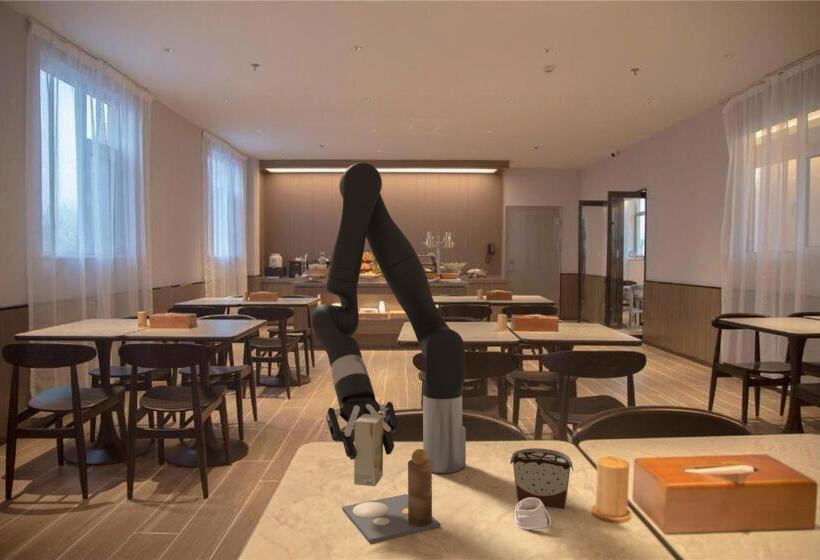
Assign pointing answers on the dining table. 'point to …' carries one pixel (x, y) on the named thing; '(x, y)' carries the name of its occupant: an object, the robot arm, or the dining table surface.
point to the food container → (542, 476)
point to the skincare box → (368, 450)
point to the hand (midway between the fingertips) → (372, 454)
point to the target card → (384, 518)
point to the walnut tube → (420, 489)
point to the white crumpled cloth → (531, 514)
